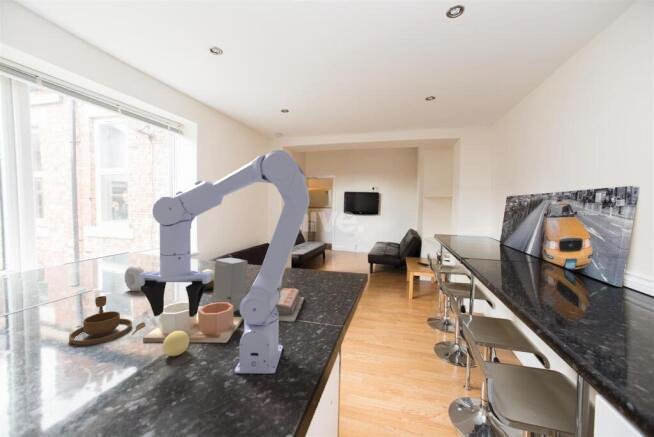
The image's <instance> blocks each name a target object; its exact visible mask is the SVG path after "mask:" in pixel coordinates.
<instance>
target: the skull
mask: <svg viewBox="0 0 654 437" xmlns="http://www.w3.org/2000/svg"><path fill="white" fill-rule="evenodd" d="M201 272H207V273H211V281H210V282H209V283H208V285H207V287H206V289H205V291H204V292H213V291H214V276H215V270H212V269H210V268H209V269H208V268H207V269H205V270H204V269H203V271H201Z"/></svg>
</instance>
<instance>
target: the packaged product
mask: <svg viewBox="0 0 654 437" xmlns="http://www.w3.org/2000/svg"><path fill="white" fill-rule="evenodd" d="M280 293H281V297H280V300H279V302H278V303H277V305H276V308H277V310H278V313H279V322H293V323H294V322H295V321H296V319H297V317H298V314H299V311H300V310H301V307H302V305H303V302H304V299H305V297H303V296H302V297H300V290H299V289H298V288H290V287H289V288H287V287H286V288H285V287H283V288H282V289H280Z"/></svg>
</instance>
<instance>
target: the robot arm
mask: <svg viewBox="0 0 654 437" xmlns="http://www.w3.org/2000/svg"><path fill="white" fill-rule="evenodd" d="M255 183H263V184H264V183H265V184H272V185H273V186H275V188H276V189H277V191H278V192H279V194H280V196H281V198H282V200H283V202H284V204H283V208H282V210H281V212H280V215H279V217H278V220H277V224H276V227H275V229H274V232H273V235H272V238H271V240H270V243H269V246H268V248H267V251H266V254H265V257H264V260H263V262H262V264H261V267H260V271H259V272H258V275H257V276H256V278H255V280H254V281H253V284H252V285H251V288H250V289H249V292H248V293H247V294H246V296H245V297H244V298H243V299H242V301H241V303H240V310H239V314H240V317H242V318H243V332H242V336H241V337H240V341H239V346H238V347H239V352H238V353H239V357H238V358H239V359H238V360H239V361H238V363H237V365H236V366H235V369H234V373H235V374H275V373H276V371H277V367H278V366H279V365H278V364H279V360H280V358H281V355H282V350H283V348H284V346H283V345H282V344H281V345H280V344H279V334H280V333H279V322H280V321H279V313H278V310H277V308H276V305H277V303H278V302H279V300H280V297H281V293H280V291H281V285H282V282H283V275H284V273H285V271H286V268H287V265H288V263H289V261H290V257H291V254H292V252H293V249H294V247H295V243H296V241H297V238H298V235H299V233H300V229H301V227H302V224H303V221H304V220H305V216H306V214H307V212H308V208H309V206H310V201H311V200H310V195H309V190H308V186H307V182H306V175H305V173H304V171H303V170H302V168H301V166H300V164H299V163H297V161H295V160H294V158H293V157H292V156H291V154H290V153H288V152H287V151H285V150H281V149H276V150H271V151H269V152H268V153H267V154H266V155H265V154H263V155H259V156H257V157H256V158H254V160H252V161H250V162H249V163H247V164H245V165H243V166H242V167H240V168H239V169H236V170H235V171H232V173H229V174H228V175H226V176H224V177H222V178H220V179H219V180H218V181H214V182H212V181H210V180H198V181H195V182H194V186H192V187H190V188H188V189H187V190H185V191H177V192H176V193H175V196H174V197H172V196H161V197H160V198H159V199H158V200H156V202H155V203H154V204H153V207H152V215H153V218H154V220H155V221H156V222H157V223H159V270H158V271H157V270H156V271H144V272H143V273H141V274H139V283H145V284H144V285H143V286H141V287H140V289H141V290H140V291H141V292H142V293H143V295H144V296H145V298H146V299H147V301H148V303H149V305H150V308H151V310H152V314H153V316H154V317H158V316H159V315H160V314H162V313H163V310H164V307H165V304H164V303H165V300H164V299H165V292H166V291H165V290H166V285H167V283H189V284H188V285H186V286H185V290H186V291H185V292H186V294H187V300H188V302H189V316H190V317H193V316H195V315H196V316H197V315H198V310H199V306H200V303H201V300H202V298H203V294H204V292H206V291H205V289H206V287H207V285H208V283H209V282H210V281H211V273H207V272H202V271H197V270H191V269H192V268H191V267H192V266H191V265H192V264H191V262H192V261H191V256H192V255H191V229H192V223H193V221H194V219H196V217H198V216H200V215H202V214H204V213H205V212H208V211H210V210H211V209H214V208H216V207H218V206H221V204H222V202H223V200H224V197H226V196H228V195H230V194H231V193H234V192H237V191H239V190H241V189H243V188H246V187H249V186H251V185H252V184H255Z"/></svg>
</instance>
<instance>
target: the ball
mask: <svg viewBox="0 0 654 437" xmlns="http://www.w3.org/2000/svg"><path fill="white" fill-rule="evenodd" d="M162 343H163V344H162V349H163V352H164V354H165V355H168V356H170V357H176V356H180V355H181V354H183V353H184V352H185V351H187V349H188V347H189V345H190V342H189V336H188V335H187V333H185V332H183V331H175V332H172V333H171V334H169V335H168V336H167V337H166V338H165V340H164V342H162Z"/></svg>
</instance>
